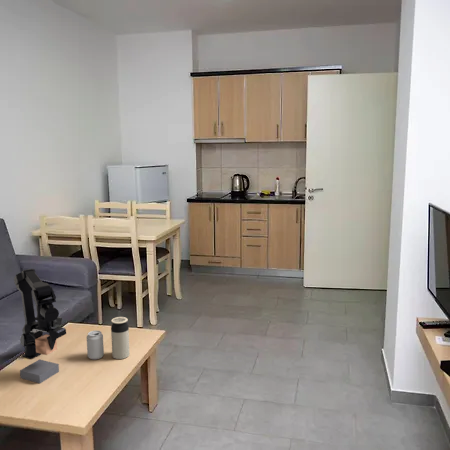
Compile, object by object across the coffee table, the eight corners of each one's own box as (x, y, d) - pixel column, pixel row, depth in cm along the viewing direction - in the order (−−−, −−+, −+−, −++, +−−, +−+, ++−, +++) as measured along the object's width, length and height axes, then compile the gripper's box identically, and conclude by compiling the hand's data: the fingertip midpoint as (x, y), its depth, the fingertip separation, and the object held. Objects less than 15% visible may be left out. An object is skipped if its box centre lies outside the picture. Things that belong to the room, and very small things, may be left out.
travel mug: (128, 359, 214) (127, 322, 211) (111, 359, 213) (109, 323, 210) (130, 351, 222) (129, 316, 219) (113, 352, 221) (112, 316, 218)
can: (99, 361, 212) (98, 336, 210) (84, 359, 214) (83, 335, 212) (106, 353, 219) (105, 330, 217) (92, 352, 221) (91, 328, 219)
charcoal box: (20, 379, 197) (19, 370, 196) (40, 367, 207) (39, 359, 206) (40, 384, 193) (39, 375, 192) (59, 372, 202) (58, 364, 202)
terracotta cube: (36, 352, 198) (35, 339, 197) (46, 346, 204) (45, 334, 202) (46, 355, 196) (45, 341, 195) (57, 349, 201) (56, 336, 200)
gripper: (74, 311, 200) (76, 344, 203) (42, 304, 208) (44, 337, 210) (55, 320, 190) (57, 355, 193) (22, 313, 198) (24, 347, 200)
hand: (46, 348), depth 199 cm, fingers closed on terracotta cube, 6 cm apart
